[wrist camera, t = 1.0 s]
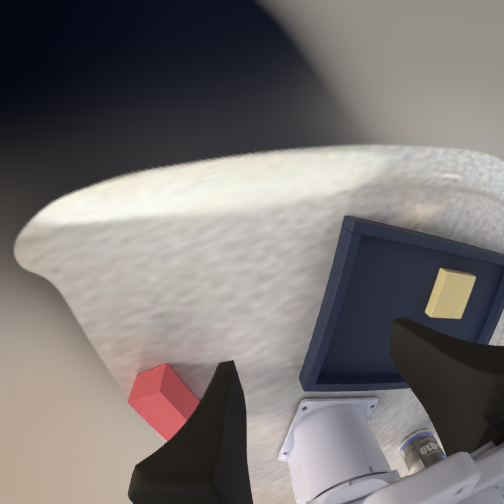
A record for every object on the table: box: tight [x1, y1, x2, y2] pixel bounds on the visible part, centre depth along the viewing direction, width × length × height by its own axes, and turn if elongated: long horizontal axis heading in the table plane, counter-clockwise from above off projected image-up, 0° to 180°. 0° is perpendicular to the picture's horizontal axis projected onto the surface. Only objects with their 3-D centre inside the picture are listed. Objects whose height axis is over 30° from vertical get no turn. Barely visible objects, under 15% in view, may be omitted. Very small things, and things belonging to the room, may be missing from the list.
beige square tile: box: [425, 268, 476, 319], centre depth 22 cm, size 4×4×1 cm
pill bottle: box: [399, 430, 447, 475], centre depth 25 cm, size 5×5×8 cm
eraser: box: [128, 363, 200, 441], centre depth 22 cm, size 6×3×4 cm, turn 27°
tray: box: [299, 215, 504, 391], centre depth 23 cm, size 14×20×2 cm
